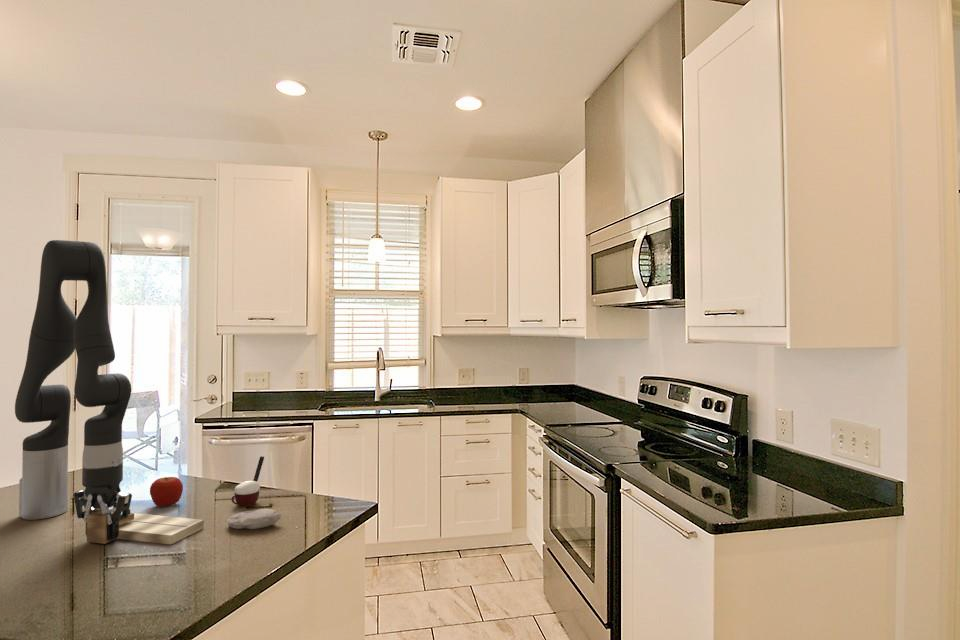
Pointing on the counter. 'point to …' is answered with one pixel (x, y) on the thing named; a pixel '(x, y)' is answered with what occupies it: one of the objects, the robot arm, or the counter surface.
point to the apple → (166, 491)
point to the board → (158, 528)
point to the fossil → (254, 519)
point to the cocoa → (248, 489)
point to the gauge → (101, 526)
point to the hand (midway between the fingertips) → (102, 537)
